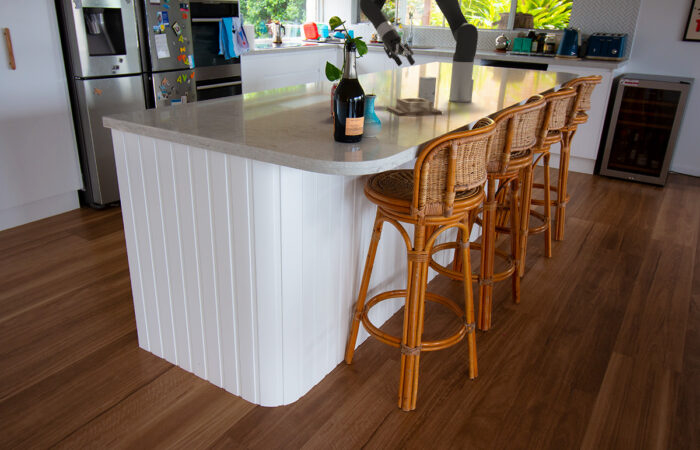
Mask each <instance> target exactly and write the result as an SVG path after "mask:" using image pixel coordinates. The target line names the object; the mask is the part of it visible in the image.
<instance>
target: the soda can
mask: <svg viewBox="0 0 700 450" xmlns="http://www.w3.org/2000/svg"><path fill="white" fill-rule="evenodd" d="M338 83H339V82H337V83H333V84H332V87H331V89H330V91H331V92H330V111H331V112H330V113H331V116H332V117H334V116H333V96H334V92H335V89H336V87H337V85H338Z"/></svg>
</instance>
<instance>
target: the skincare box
mask: <svg viewBox="0 0 700 450" xmlns="http://www.w3.org/2000/svg"><path fill="white" fill-rule="evenodd" d="M418 83H419V84H418V96H417V98H423V99H426V100H429V101H431V102H433V107H435V100H436V99H435V97H436V86H437V77H435V76H419V82H418Z"/></svg>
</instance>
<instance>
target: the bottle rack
mask: <svg viewBox="0 0 700 450" xmlns="http://www.w3.org/2000/svg"><path fill="white" fill-rule="evenodd" d="M395 105H396V106H386V111H388V110H389V111H388V112H390V111H391V113H392V112H393V113H392V114H394V113H395V114H394V115H396V114H397V115H396V116H399V117H405V115H413V116H436V115H437V116H439V115H441V116H442V115H443V111H442V110H439V109H437V108H434V106H433V102H431V101H429V100H426V99H423V98H418V97H409V98H407V97H406V98H405V97H404V98H403V97H401V98H400V97H399V98H396V104H395Z"/></svg>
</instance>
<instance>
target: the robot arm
mask: <svg viewBox="0 0 700 450" xmlns="http://www.w3.org/2000/svg"><path fill="white" fill-rule="evenodd" d="M386 2H387V0H360V1H359V9H360V10H361V12H362V14H363V15H364V16H365V17H366V19H368V20H369V22H370V23H371V24H372V26H373V27H374V29H375V30H376V32H377V34H378V37H379V38H380V40H381V41H382V44H383V45H384V46H383V50H384V52H385V53H386V56H387V57H388V58H389V59H392V60H394V62H395V64H396V65H397V66H398V67H400V66H402V64H403V61H402V59H401V58H400V57H399V56H402V57H404V58H406V59H407V61H408V63H409V65H410V66H414V64H415V63H416V60H415V59H414V57H413V55H414V52H413V50H412V49H411V47H410V46H409V44H408V43H404V44H403V43H402V37H401V35H400V34H399V32H398V31H397V29H396V27H395V25H393V23H392V22H391V21H390V19H389V17H388V16H387V14H386V13H385V12H384V11H382V10H383V8H384V6H385V4H386ZM434 2H435V4H436V5H437V7H438V8H439V10H440V12H441V13H442V15H443V16H444V18H445V20H446V21H447V24H448V27H449V29H450V31H451V34H452V36H453V39H454V41H455V42H456V44H455V50H454V53H453V55H452V66H451V76H450V77H451V78H450V88H449V89H450V90H449V99H448V100H449V101H451V102H457V103H458V102H459V103H465V102H466V103H467V102H472V101H473V90H474V81H475V80H474V79H473V75H474V74H473V73H474V62H475V61H474V60H475V57H476V55H477V47H478V41H479V39H478V38H479V31H478V29H477V27H476V25H474V24H472V23H470V22H469V21H468V20H467V18H466V17H465V15H464V14H463V12H462V9H461V7H460V2H459V0H434Z"/></svg>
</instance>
